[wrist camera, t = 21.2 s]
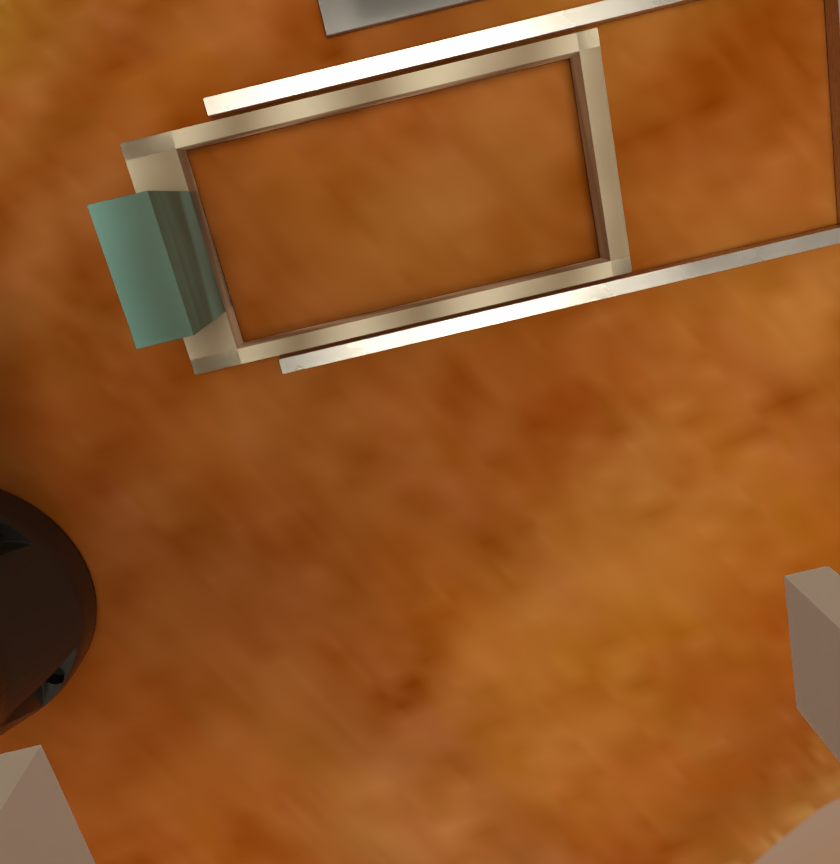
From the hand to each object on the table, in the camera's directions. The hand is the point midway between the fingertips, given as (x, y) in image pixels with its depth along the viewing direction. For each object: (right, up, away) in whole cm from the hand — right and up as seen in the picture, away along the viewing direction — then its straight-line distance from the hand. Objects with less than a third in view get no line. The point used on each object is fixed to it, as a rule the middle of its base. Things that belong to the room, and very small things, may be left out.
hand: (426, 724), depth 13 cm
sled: (-2, +17, +27) cm, 32 cm away
